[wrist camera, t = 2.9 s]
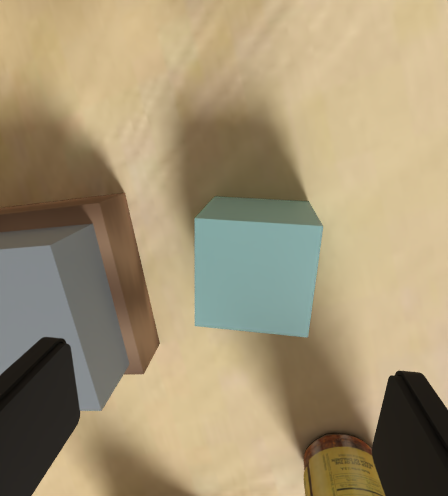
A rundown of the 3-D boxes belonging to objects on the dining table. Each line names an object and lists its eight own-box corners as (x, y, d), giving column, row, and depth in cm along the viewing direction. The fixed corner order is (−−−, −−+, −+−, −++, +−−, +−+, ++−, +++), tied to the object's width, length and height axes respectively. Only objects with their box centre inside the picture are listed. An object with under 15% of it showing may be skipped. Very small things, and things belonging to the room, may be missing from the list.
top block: (-51, 237, 20) (-122, 260, 17) (93, 223, 19) (50, 245, 15) (2, 366, 24) (-48, 409, 20) (129, 363, 22) (101, 410, 18)
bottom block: (-21, 209, 24) (-74, 223, 20) (128, 191, 22) (99, 202, 18) (30, 344, 28) (-7, 377, 24) (161, 339, 26) (143, 374, 22)
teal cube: (214, 196, 21) (194, 218, 15) (308, 201, 20) (323, 226, 15) (213, 279, 23) (194, 325, 17) (298, 286, 22) (308, 337, 17)
